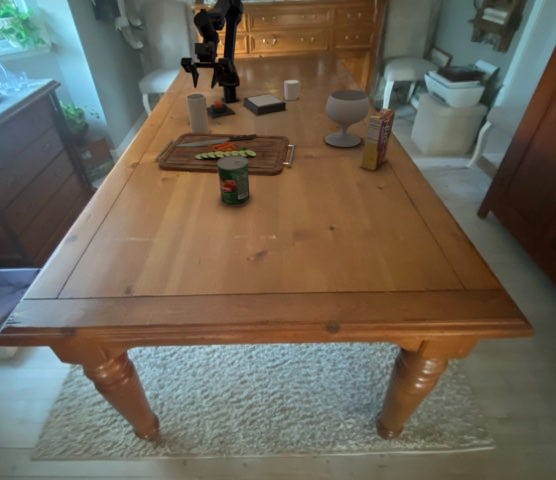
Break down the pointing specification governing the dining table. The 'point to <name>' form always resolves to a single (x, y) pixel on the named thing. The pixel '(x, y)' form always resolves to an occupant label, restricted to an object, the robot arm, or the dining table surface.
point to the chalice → (346, 115)
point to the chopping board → (226, 152)
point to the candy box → (377, 138)
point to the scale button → (218, 104)
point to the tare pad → (219, 111)
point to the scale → (264, 104)
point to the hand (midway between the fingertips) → (203, 87)
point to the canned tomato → (233, 180)
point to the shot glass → (291, 89)
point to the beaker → (198, 113)
